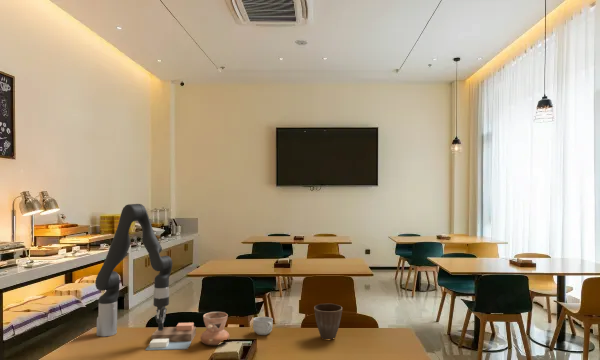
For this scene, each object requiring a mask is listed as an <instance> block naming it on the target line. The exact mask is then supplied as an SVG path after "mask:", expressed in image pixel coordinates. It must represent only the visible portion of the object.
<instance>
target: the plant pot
mask: <svg viewBox="0 0 600 360" xmlns="http://www.w3.org/2000/svg"><path fill="white" fill-rule="evenodd" d="M313 309H314V317H315V322H316V326H317V330H318V333H319V335H320V337H321V339H322V338H323V339H322V340H324V339H333V338H335V339H336V337H337V333H338V331H339V327H340V323H341V319H342V314H343V307H342V306H341V305H339V304H335V303H318V304H316V305H314V307H313ZM333 340H334V339H333Z"/></svg>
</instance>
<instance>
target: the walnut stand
mask: <svg viewBox="0 0 600 360" xmlns="http://www.w3.org/2000/svg"><path fill="white" fill-rule="evenodd" d="M196 334H197V327H196V326H194V328H193V329H192V330H185V331H176V326H168V327H167V326H165V327H164V326H163V330H162V331H159V330H158V327H157V328H156V330H155V331H153V333H152V334H151V340H152V339H169V342H181V341H191V343H192V341H193V340H194V338H195V336H196Z"/></svg>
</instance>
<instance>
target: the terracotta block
mask: <svg viewBox="0 0 600 360" xmlns="http://www.w3.org/2000/svg"><path fill="white" fill-rule="evenodd" d="M175 327H176V331H185V330H192V329H193V328H194V327H195V323H194V322H178V323H177V325H176V326H175Z"/></svg>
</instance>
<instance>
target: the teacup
mask: <svg viewBox="0 0 600 360" xmlns="http://www.w3.org/2000/svg"><path fill="white" fill-rule="evenodd" d="M252 320H253V321H252V322H253V323H252V325H253V327H252V328H253V329H252V330H253V332H254V333H255V334H256V335H259V336H267V335H268V334H270V333H271V332H272V330H273V323H274V322H273V320H274V319H273V317H268V316H257V317H254V318H252Z"/></svg>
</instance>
